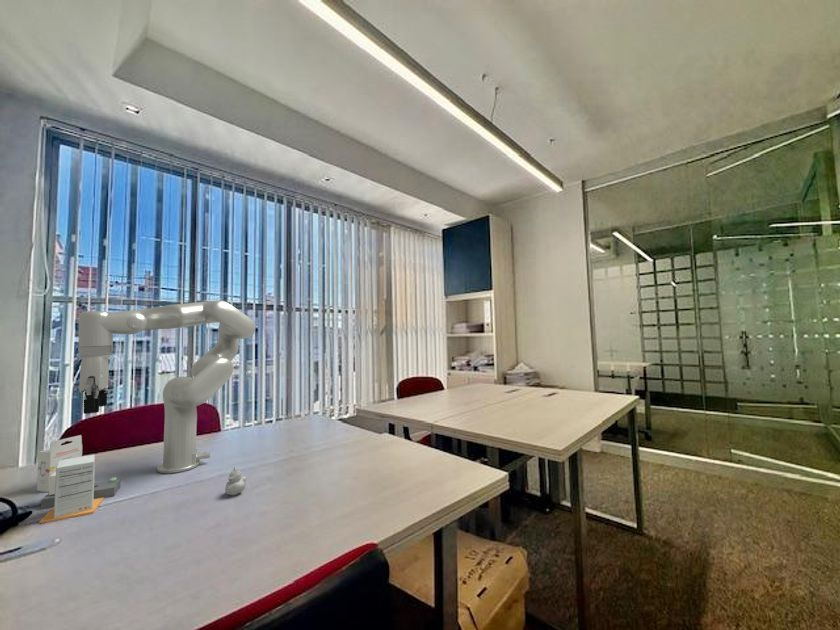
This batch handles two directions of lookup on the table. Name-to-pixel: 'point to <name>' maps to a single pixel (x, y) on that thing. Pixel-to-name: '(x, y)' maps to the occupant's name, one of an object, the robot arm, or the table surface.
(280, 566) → the table surface
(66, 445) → the ink cartridge box
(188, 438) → the robot arm
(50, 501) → the gray flat block
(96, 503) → the pad
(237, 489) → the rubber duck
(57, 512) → the supplement box
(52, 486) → the cream rectangular block
